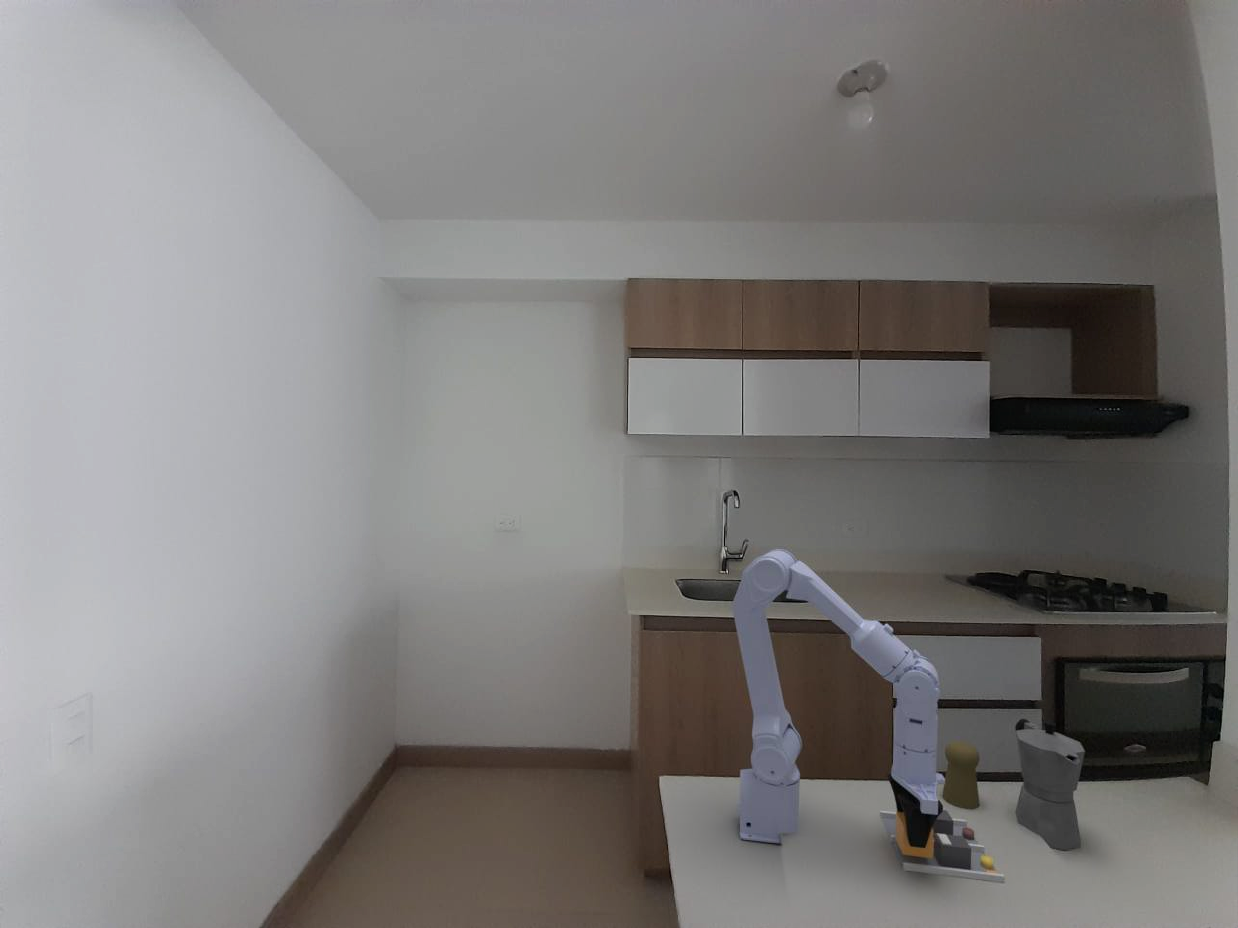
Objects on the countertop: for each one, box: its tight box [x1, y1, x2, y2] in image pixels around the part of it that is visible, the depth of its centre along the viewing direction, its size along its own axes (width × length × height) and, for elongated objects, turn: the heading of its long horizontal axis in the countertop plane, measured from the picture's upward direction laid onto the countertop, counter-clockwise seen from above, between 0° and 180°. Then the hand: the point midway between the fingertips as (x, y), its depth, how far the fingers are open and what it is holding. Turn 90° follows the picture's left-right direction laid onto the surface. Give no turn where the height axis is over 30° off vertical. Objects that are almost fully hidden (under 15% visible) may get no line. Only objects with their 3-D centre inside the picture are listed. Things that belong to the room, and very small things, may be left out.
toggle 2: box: [934, 833, 971, 870], centre depth 91 cm, size 4×3×3 cm
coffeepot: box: [1014, 718, 1086, 851], centre depth 103 cm, size 15×9×18 cm, turn 176°
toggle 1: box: [932, 809, 954, 839], centre depth 98 cm, size 4×3×3 cm
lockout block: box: [895, 811, 934, 858], centre depth 92 cm, size 4×4×4 cm
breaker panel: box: [879, 810, 1006, 884], centre depth 95 cm, size 13×14×2 cm
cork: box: [941, 740, 981, 810], centre depth 108 cm, size 6×6×11 cm
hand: (912, 836), depth 92 cm, fingers closed on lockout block, 4 cm apart
